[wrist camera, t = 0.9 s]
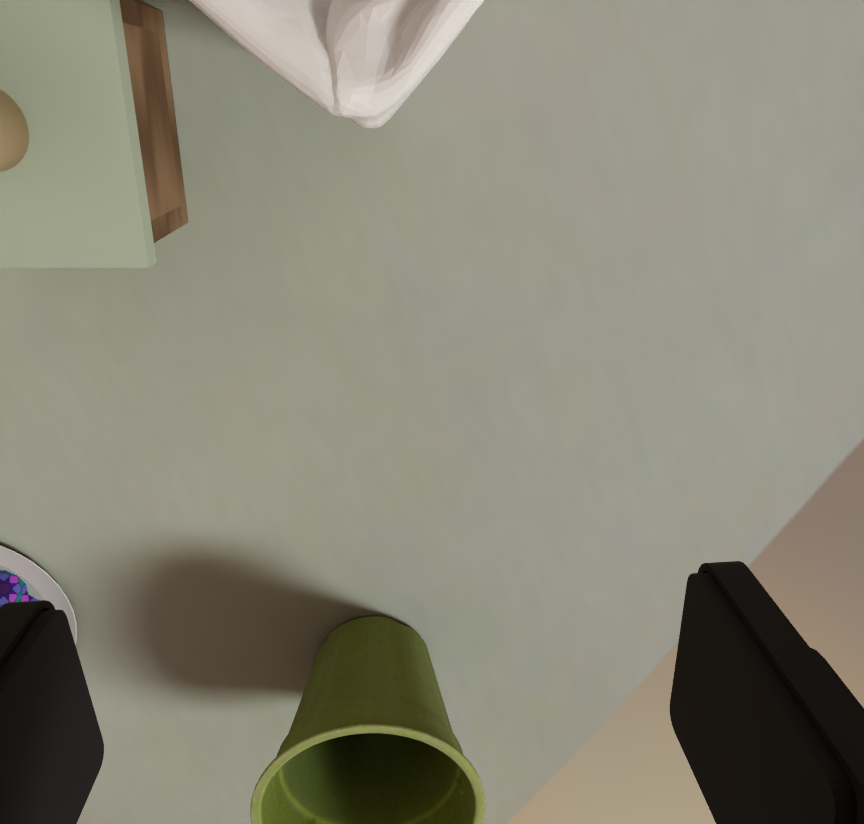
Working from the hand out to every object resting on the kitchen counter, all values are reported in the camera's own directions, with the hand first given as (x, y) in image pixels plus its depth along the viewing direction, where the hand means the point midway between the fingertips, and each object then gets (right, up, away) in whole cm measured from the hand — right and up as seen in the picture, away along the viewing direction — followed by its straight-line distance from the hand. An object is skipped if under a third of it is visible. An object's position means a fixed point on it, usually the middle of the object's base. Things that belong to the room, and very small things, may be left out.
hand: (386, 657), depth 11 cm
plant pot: (-3, -12, +36) cm, 38 cm away
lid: (-15, +15, +16) cm, 27 cm away
